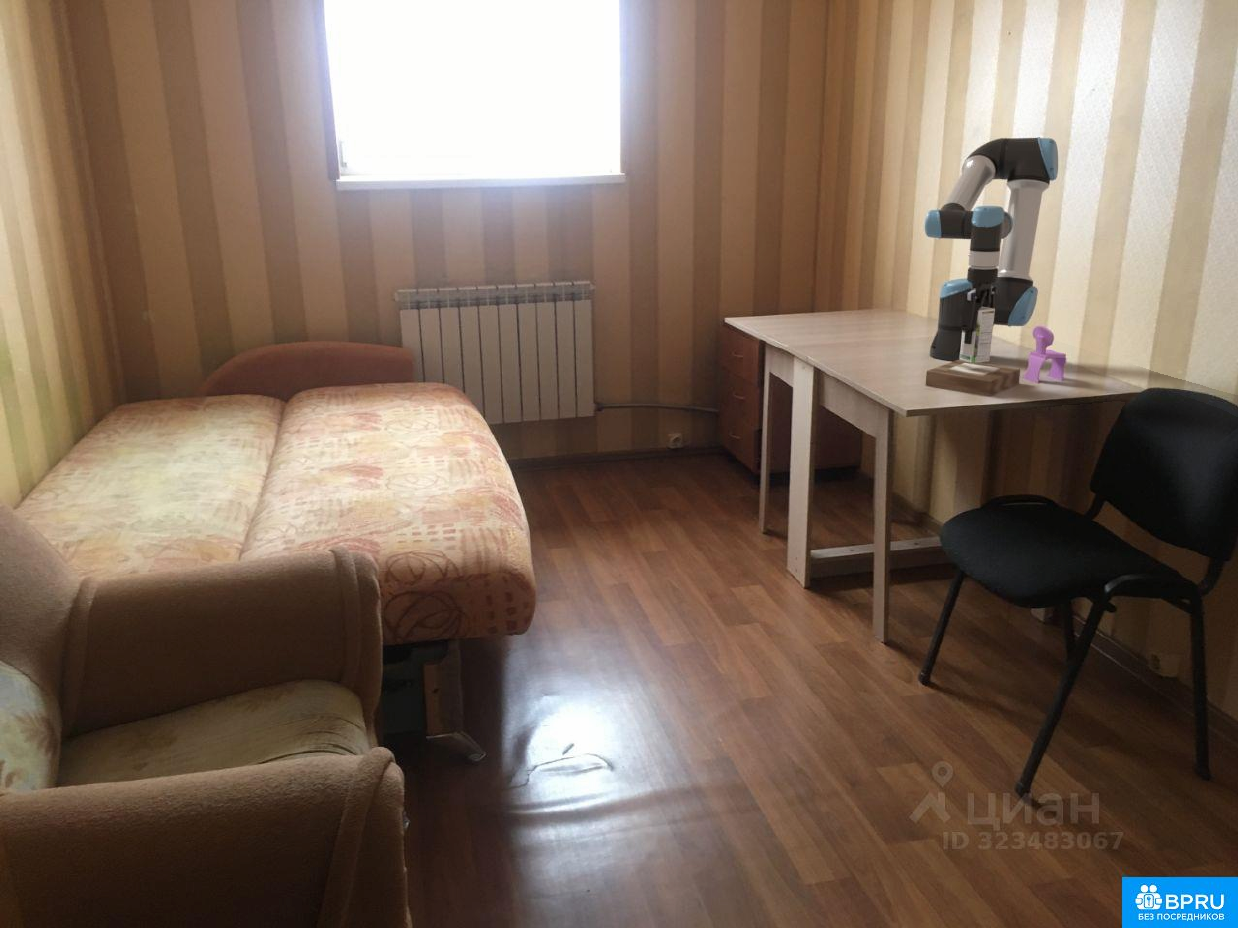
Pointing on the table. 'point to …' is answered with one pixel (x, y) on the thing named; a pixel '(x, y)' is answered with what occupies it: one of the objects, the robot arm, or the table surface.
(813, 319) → the table surface
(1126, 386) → the table surface
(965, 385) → the walnut base
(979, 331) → the syrup box
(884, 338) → the table surface
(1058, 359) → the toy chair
